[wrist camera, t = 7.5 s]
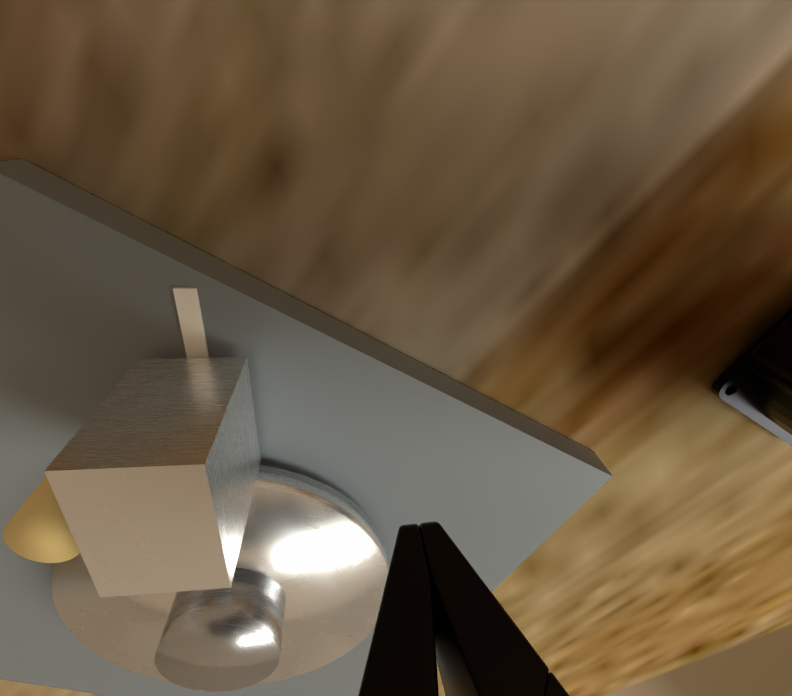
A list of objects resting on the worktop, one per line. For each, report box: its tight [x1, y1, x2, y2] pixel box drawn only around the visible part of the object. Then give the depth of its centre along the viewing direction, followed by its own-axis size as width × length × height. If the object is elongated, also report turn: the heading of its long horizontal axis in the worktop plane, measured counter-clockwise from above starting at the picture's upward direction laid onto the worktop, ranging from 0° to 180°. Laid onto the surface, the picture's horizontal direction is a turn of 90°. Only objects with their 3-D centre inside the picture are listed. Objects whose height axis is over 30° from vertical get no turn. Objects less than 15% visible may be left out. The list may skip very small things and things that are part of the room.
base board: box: [0, 159, 612, 696], centre depth 16 cm, size 22×22×6 cm
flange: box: [44, 357, 389, 692], centre depth 14 cm, size 12×15×4 cm
